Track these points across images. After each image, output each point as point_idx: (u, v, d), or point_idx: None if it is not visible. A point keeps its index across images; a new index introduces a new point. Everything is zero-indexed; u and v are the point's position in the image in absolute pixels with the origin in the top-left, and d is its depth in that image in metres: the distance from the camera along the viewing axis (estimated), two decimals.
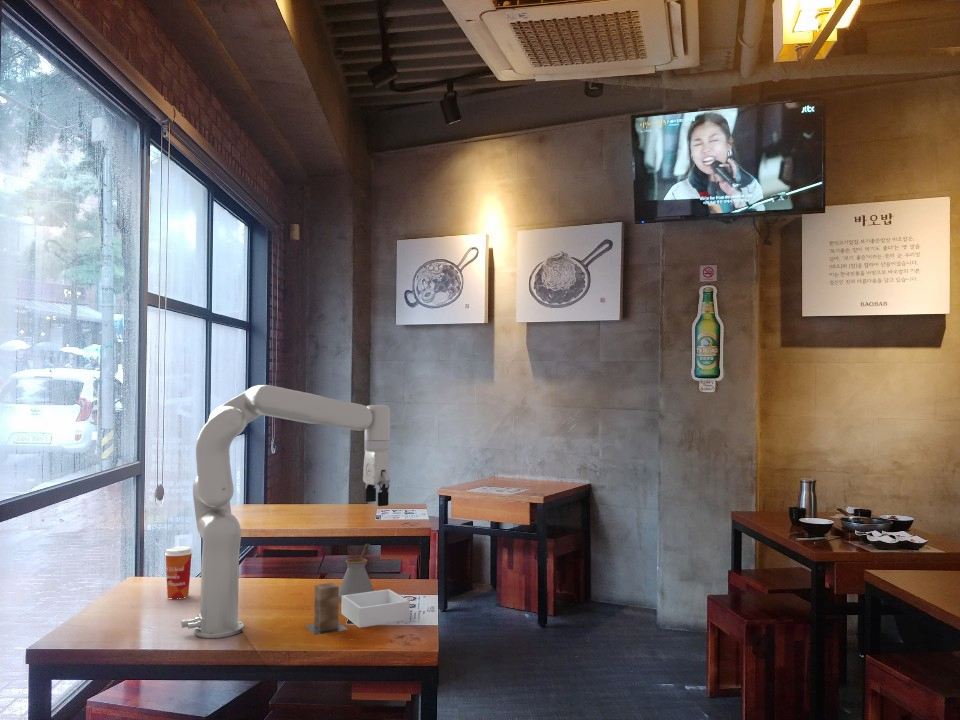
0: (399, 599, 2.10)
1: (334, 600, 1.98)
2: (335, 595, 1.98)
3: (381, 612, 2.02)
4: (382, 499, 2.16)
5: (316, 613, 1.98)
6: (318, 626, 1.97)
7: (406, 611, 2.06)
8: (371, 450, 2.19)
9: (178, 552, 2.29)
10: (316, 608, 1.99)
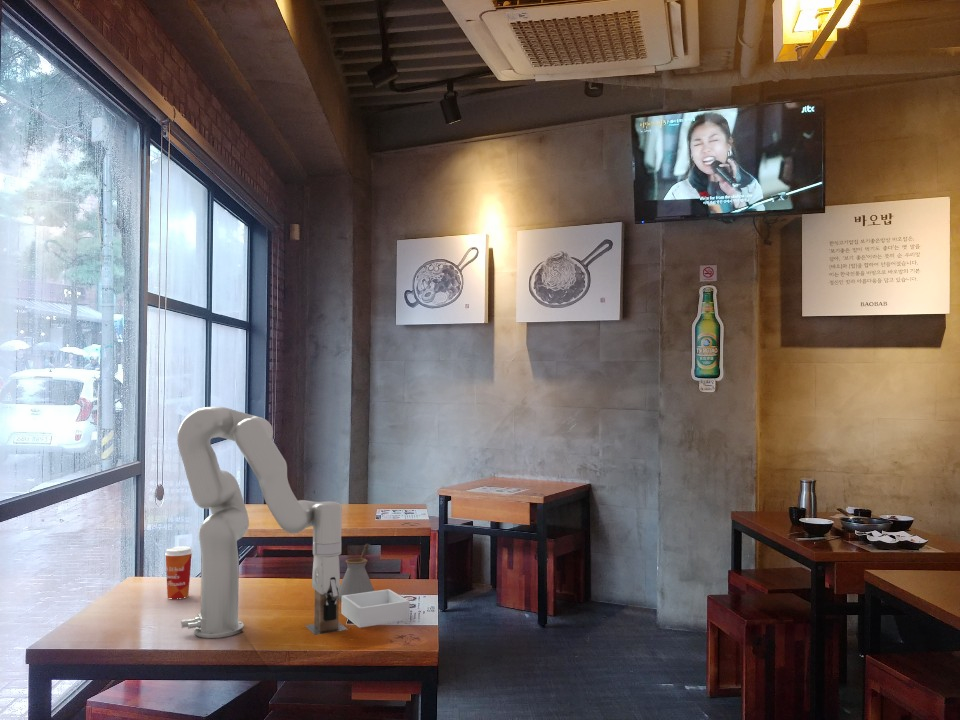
0: (399, 599, 2.10)
1: None
2: None
3: (381, 612, 2.02)
4: (329, 613, 1.96)
5: (316, 613, 1.98)
6: (318, 626, 1.97)
7: (406, 611, 2.06)
8: (319, 555, 1.96)
9: (178, 552, 2.29)
10: (316, 608, 1.99)
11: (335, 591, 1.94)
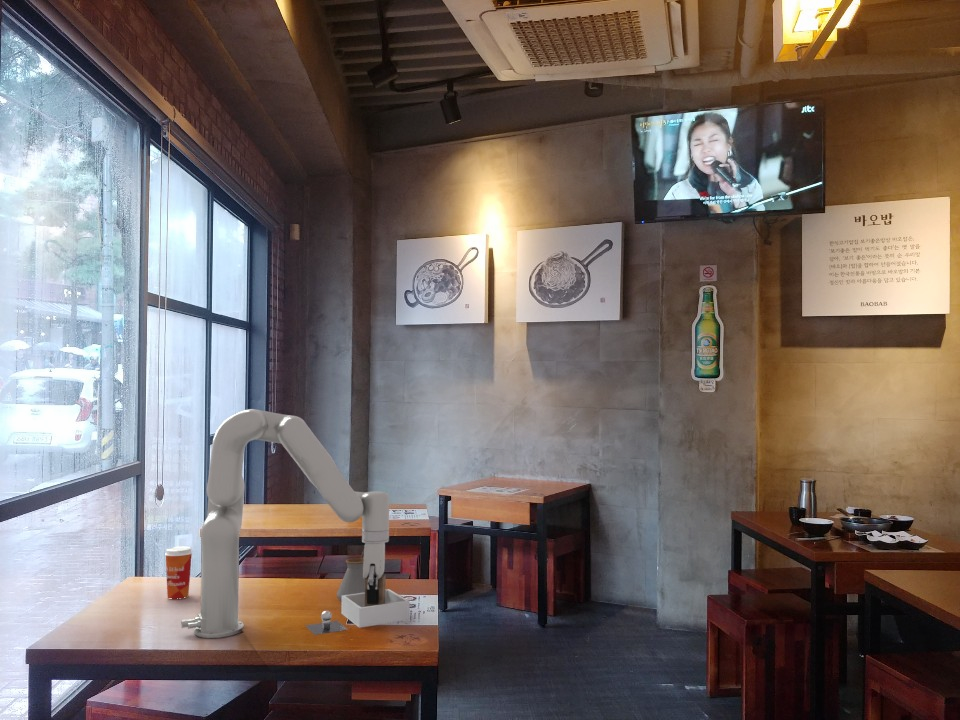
0: (399, 599, 2.10)
1: None
2: (379, 587, 2.07)
3: (381, 612, 2.02)
4: (370, 597, 2.04)
5: None
6: None
7: (406, 611, 2.06)
8: (364, 541, 2.07)
9: (178, 552, 2.29)
10: None
11: (371, 575, 2.02)
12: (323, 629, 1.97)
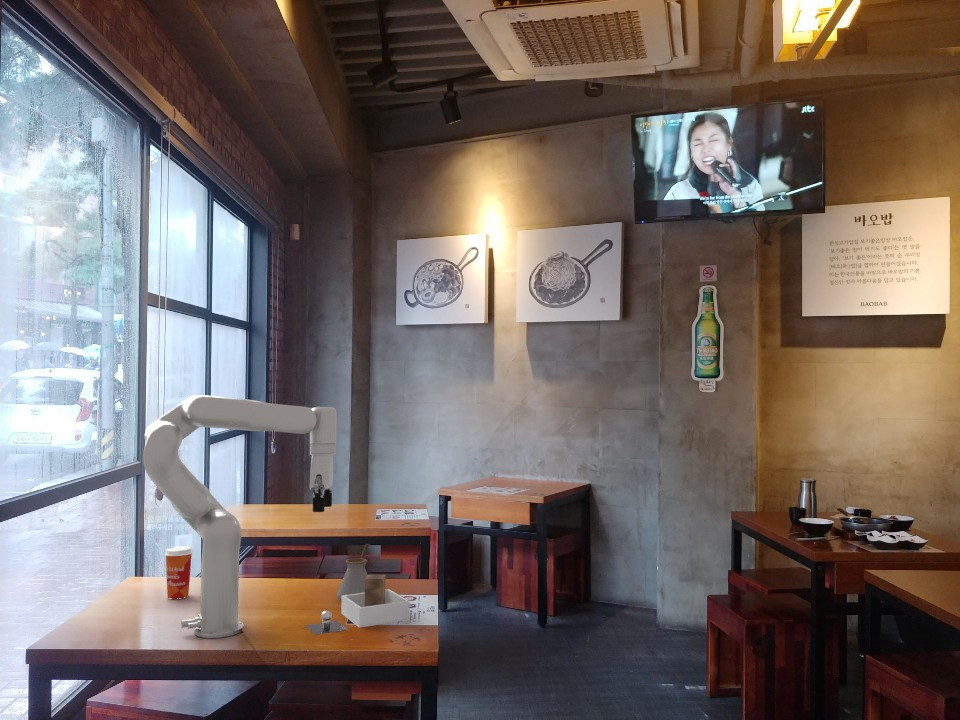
0: (399, 599, 2.10)
1: (378, 591, 2.07)
2: (379, 587, 2.07)
3: (381, 612, 2.02)
4: (316, 505, 2.08)
5: None
6: None
7: (406, 611, 2.06)
8: (311, 453, 2.12)
9: (178, 552, 2.29)
10: None
11: (317, 481, 2.07)
12: (323, 629, 1.97)
